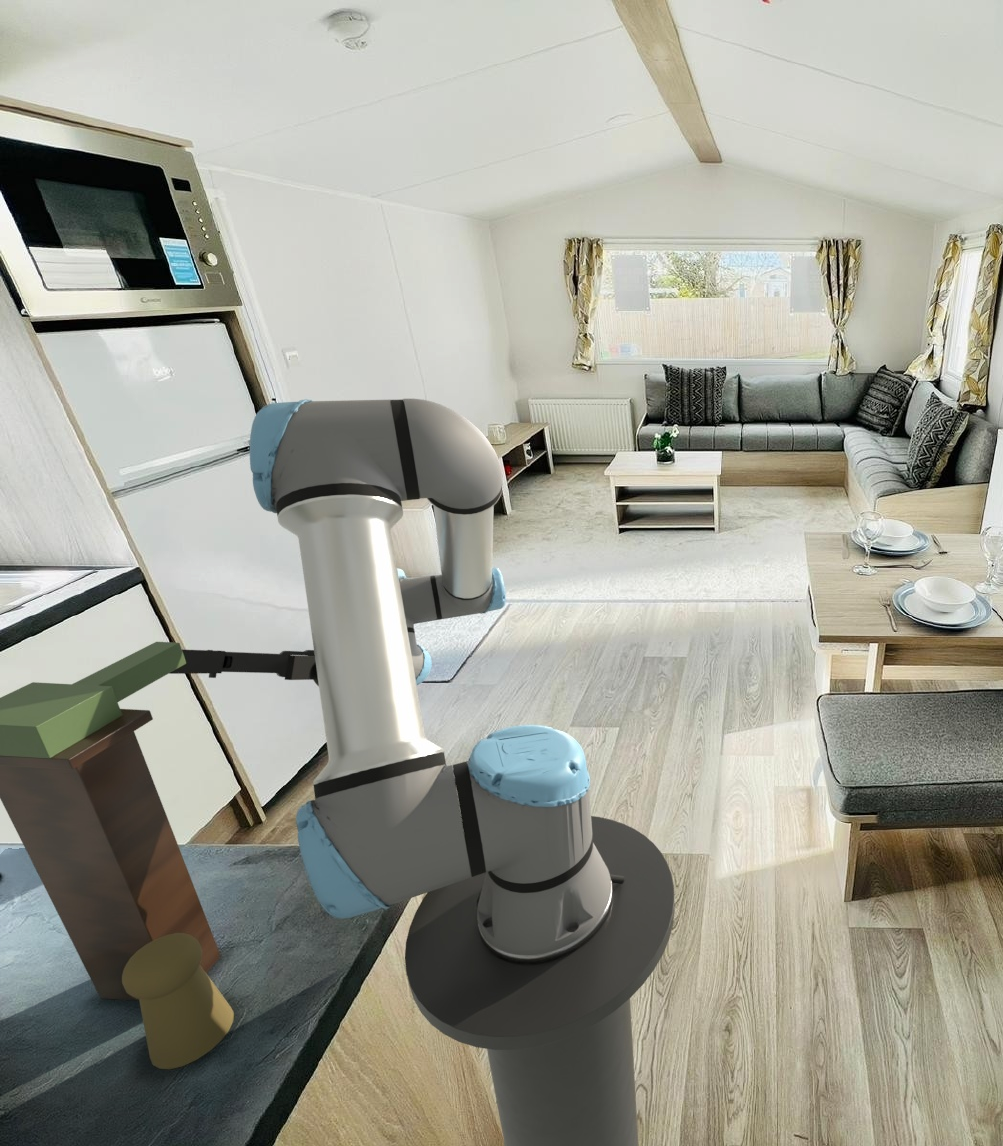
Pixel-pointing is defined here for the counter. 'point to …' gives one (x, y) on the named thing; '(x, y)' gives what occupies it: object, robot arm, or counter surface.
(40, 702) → the paddle
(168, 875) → the shelf stand
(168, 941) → the cork
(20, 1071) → the counter surface
